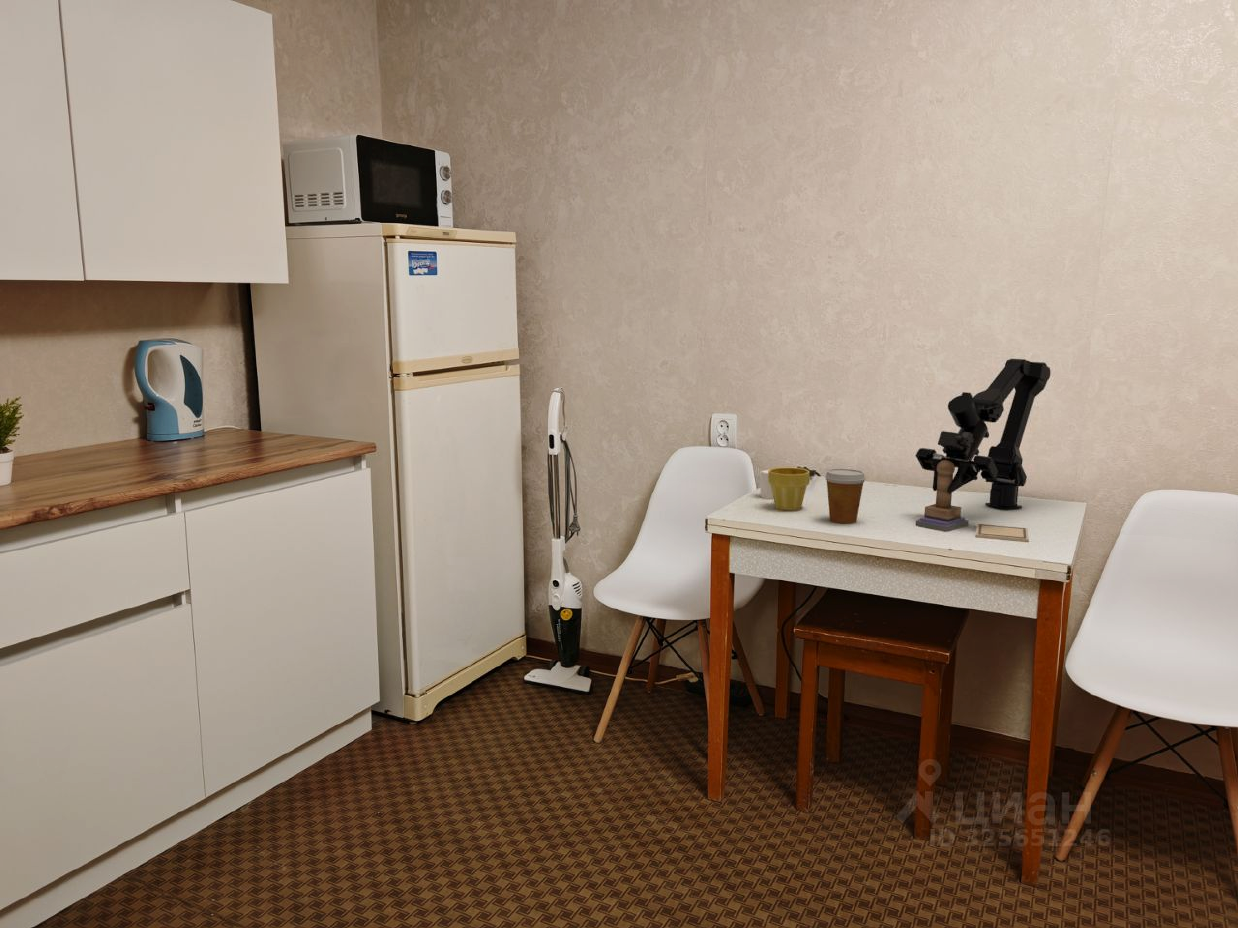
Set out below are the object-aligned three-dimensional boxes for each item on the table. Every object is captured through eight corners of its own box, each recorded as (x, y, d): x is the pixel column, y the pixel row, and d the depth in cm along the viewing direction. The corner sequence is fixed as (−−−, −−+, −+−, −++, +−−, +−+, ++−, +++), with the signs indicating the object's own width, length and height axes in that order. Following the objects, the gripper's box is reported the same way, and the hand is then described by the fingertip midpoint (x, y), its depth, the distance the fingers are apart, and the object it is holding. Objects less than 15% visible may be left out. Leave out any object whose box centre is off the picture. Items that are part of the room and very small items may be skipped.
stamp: (937, 513, 226) (941, 456, 224) (960, 518, 222) (964, 460, 220) (924, 517, 223) (927, 459, 220) (947, 521, 218) (951, 463, 216)
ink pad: (937, 519, 229) (937, 511, 228) (968, 524, 223) (968, 517, 223) (915, 525, 222) (915, 517, 222) (946, 531, 216) (946, 524, 216)
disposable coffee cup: (870, 523, 223) (873, 474, 221) (835, 526, 221) (837, 476, 219) (850, 515, 232) (852, 467, 230) (815, 517, 230) (817, 469, 228)
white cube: (768, 500, 249) (769, 474, 247) (753, 495, 255) (754, 470, 253) (789, 498, 252) (790, 472, 251) (773, 493, 258) (774, 468, 257)
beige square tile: (977, 526, 222) (977, 523, 222) (1027, 530, 218) (1027, 527, 218) (975, 536, 212) (975, 533, 212) (1028, 541, 208) (1028, 538, 207)
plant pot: (763, 510, 237) (764, 472, 235) (771, 502, 246) (772, 465, 245) (804, 513, 233) (806, 475, 232) (811, 505, 243) (812, 468, 241)
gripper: (921, 415, 228) (894, 465, 222) (995, 422, 214) (967, 476, 209) (936, 443, 234) (910, 492, 229) (1009, 453, 220) (982, 505, 215)
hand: (941, 491), depth 220 cm, fingers closed on stamp, 3 cm apart
